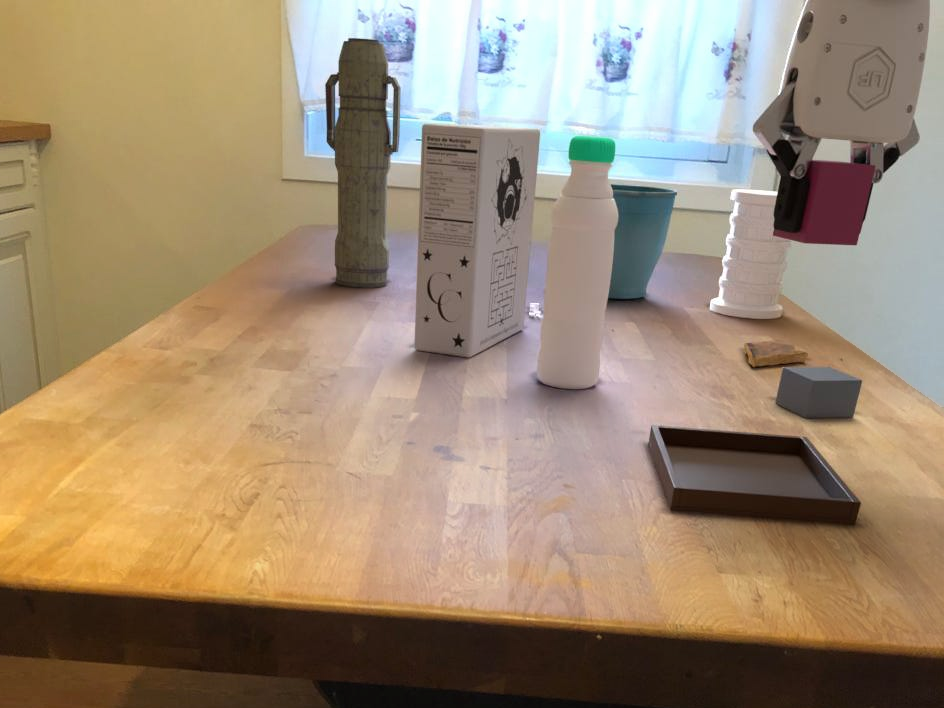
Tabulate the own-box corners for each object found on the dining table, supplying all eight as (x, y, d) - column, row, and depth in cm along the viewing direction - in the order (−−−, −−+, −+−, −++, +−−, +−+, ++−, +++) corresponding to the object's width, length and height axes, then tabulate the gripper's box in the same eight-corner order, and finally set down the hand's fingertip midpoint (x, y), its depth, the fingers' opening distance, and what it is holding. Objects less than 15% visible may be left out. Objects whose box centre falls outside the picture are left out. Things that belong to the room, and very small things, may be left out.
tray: (801, 461, 91) (806, 436, 90) (854, 530, 76) (861, 502, 75) (647, 449, 91) (651, 424, 90) (669, 515, 76) (674, 487, 75)
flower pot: (542, 295, 165) (553, 184, 157) (573, 282, 180) (584, 180, 172) (648, 308, 159) (664, 194, 151) (671, 294, 174) (687, 189, 166)
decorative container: (789, 321, 157) (814, 198, 148) (716, 316, 157) (738, 193, 148) (771, 308, 167) (794, 192, 159) (703, 303, 167) (723, 187, 159)
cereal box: (473, 322, 140) (485, 125, 128) (524, 329, 138) (541, 129, 126) (413, 350, 122) (420, 123, 110) (470, 358, 120) (484, 128, 108)
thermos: (334, 276, 169) (332, 39, 153) (401, 282, 168) (407, 43, 151) (319, 284, 162) (316, 35, 145) (389, 290, 160) (395, 39, 144)
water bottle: (587, 394, 108) (618, 139, 96) (527, 384, 110) (549, 134, 98) (604, 381, 114) (635, 139, 102) (547, 372, 116) (570, 134, 104)
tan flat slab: (750, 369, 124) (753, 354, 123) (707, 356, 129) (710, 342, 129) (808, 363, 129) (811, 349, 128) (765, 350, 135) (767, 337, 134)
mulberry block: (822, 237, 85) (839, 161, 83) (857, 245, 81) (876, 165, 78) (772, 235, 84) (787, 157, 81) (804, 243, 80) (821, 161, 77)
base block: (821, 402, 111) (829, 366, 109) (853, 417, 106) (862, 380, 104) (774, 403, 109) (782, 366, 107) (805, 418, 104) (814, 380, 102)
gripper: (800, -47, 68) (747, 234, 77) (1002, -21, 73) (930, 242, 81) (746, -36, 75) (703, 223, 83) (935, -13, 79) (875, 230, 88)
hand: (816, 229), depth 82 cm, fingers closed on mulberry block, 5 cm apart
